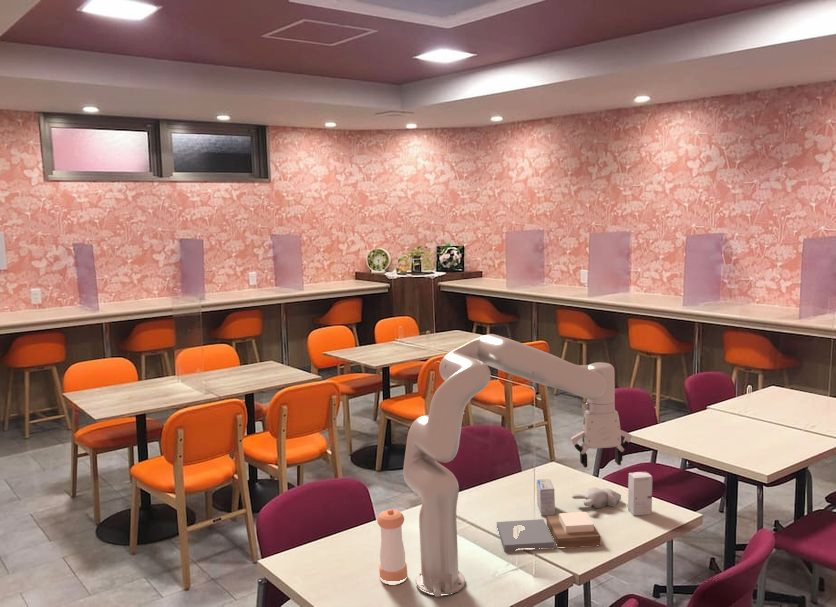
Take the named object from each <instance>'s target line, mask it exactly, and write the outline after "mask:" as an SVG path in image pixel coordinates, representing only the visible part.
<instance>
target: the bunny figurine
mask: <svg viewBox="0 0 836 607" xmlns="http://www.w3.org/2000/svg"><path fill="white" fill-rule="evenodd" d="M572 499H574V500H575V499H576V500H582V501H583V506H585V507H589V508H590V507H592V506H593V507H594V508H595V509H600V508H601V509H602V508H604V507H605V506H611V507H612V506H613V507H615V506H617V503H618V502H619V501H620V500H621V499H622V494H620V493H618V492H616V491H614V490H612V489H610V488H609V487H605V488H598V487H591V488H588V490H587V491H586V493H585V494H582V493H581V494H580V493H574V494H573V495H572ZM583 499H585V500H583Z"/></svg>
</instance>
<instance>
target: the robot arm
mask: <svg viewBox="0 0 836 607" xmlns="http://www.w3.org/2000/svg"><path fill="white" fill-rule="evenodd" d="M489 367H491V368H493V369H496V370H499V371H501V372H504V373H507V374H510V375H513V376H516V377H519V378H522V379H524V380H528V381H530V382H533V383H537V384H539V385H542V386H546V387H550V388H554V389H557V390H561V391H564V392H567V393H570V394H574V395H576V396H579V397H581V398H584V399H586V402H585V403H582V404H581V408H582V409H585V411H584V414H583V418H582V421H583V423H582V428H581V430H582V431H580V432H578V433H577V434H575V435H573V436H571V437H570V438H569V439H570V440H569V441H570V442H571V443H572V444H573V447H574V448H575V449H576V450H577V451H578V452H579V458H580V459H579V460H580V461H579V462H580V464H582V466H583V467H584V468H588V454H587V451H588V450H589V449H592V450H593V449H608V448H610V449H611V448H615V449H614V462H615V463H616V464H617V465H618V466H621V465H622V462H623V452H624V451H625V449H626V448H627V447H628V446H629V445H630V444H629V443H630V442H631V439H632V438H633V436H632V434H630V433H629V432H627V431H624V430H622V429H621V424H620V422H621V421H620V416H619V411H617V410H616V407H615V405H616V404H615V403H616V402H615V400H616V398H615V394H616V392H615V391H616V390H615V389H616V387H615V384H616V383H615V380H616V379H615V367H614V366H613V365H612V364H611V363H608V362H599V361H598V362H593V363H590V364H580V365H579V364H575V363H572V362H570V361H567V360H565V359H562V358H561V357H558V356H557V355H553V354H551V353H550V352H549V353H548V352H546V351H544V350H541V349H538V348H536V347H533V346H530V345H527V344H525V343H522V342H521V341H516V340H514V339H511V338H508V337H504V336H501V335H498V334H494V333H488V334H484V335H481V336H479V337H477V338H475V339H473V340H470V341H468V342H467V343H465V344H463V345H461V346H459V347H457V348H455V349H454V350H451V351H449V352H448V353H447V354H446V355H445V356H443V358H442V359H441V360H440V363H439V367H438V370H439V372H438V373H439V375H440V377H441V379H442V380H443V382H442V383H441V384H440V385H439V387H438V388H437V389H436V390H435V392H434V394H433V395H432V399H431V400H430V407H429V411H428V414H425V415H421V416H419V417H417V418H416V419H415V420H414V421H413V422H412V423H411V426H410V427H409V429H408V433H407V438H406V445H405V454H404V461H403V470H402V471H403V479H404V482H405V483H406V485H407V487H408V488H409V489H411V490H412V491H413V492H414V493H415V494H416V495H417V496H419V497H420V499H421V507H420V510H419V516H418V526H419V527H418V528H419V548H420V551H419V552H420V569H421V571H420V572H419V573H418V574H417V576H416V578H415V585H416V584H417V586H418V587H419V588H421V589H422V590H424V591H426V592H429V593H433V594H434V595H435V596H434V597H436V598H439V597H442V596H441V594H451V593H455V592H457V593H459V592H460V591H461V590H463V588H464V586H465V584H466V582H465V580H466V578H465V576H464V574H463V573H462V572H461V571H459V556H458V555H459V554H458V553H459V552H458V526H457V523H458V522H457V507H458V500H459V493H460V488H459V487H460V486H459V482H458V479H457V477H456V476H455V475H454V473H453V472H452V471H451V470H449V469H448V468H447V467H445V466H444V465H442V464H443V463H444V464H445V463H449V462H451V461H453V460H454V458H456V456H457V454H458V451H459V448H460V440H461V432H462V424H463V418H464V414H465V413H464V412H465V409H466V407H467V404H468V403H469V402H471V399H473V398H474V397H475V396H476V395H478V394H480V392H482V391H483V390H484V389H486V388H487V386H488V385H489V382H490V381H491V376H492V375H491V374H492V373H491V370H490V368H489ZM622 437H623V440H622ZM579 440H581V441H582V443H581V445H580V444H579V443H578V441H579ZM441 463H442V464H441ZM421 575H422V576H421ZM417 586H416V587H417ZM421 586H423V587H421ZM459 590H460V591H459ZM455 594H456V593H455Z"/></svg>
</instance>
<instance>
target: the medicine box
mask: <svg viewBox="0 0 836 607" xmlns="http://www.w3.org/2000/svg"><path fill="white" fill-rule="evenodd" d="M555 496H556V495H555V488H554V485H553V482H552V480H551V479H550V478H549V479H544V478H543V479H537V480H536V500H537V501H536V502H537V507H538V510H539V512H540V515H541V517H542V516H543V517H544V516H545V517H547V516H553V515H556V504H555V503H556V502H555V501H556V499H555Z"/></svg>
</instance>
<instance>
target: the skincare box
mask: <svg viewBox="0 0 836 607" xmlns="http://www.w3.org/2000/svg"><path fill="white" fill-rule="evenodd" d="M627 484H628V486H627V489H628V492H627V509H628V511H629V513H630V514H631V515H632V516H644V515H646V516H647V515H652V512H653V511H652V510H653V509H652V508H653V507H652V506H653V476H652V475H651V474H650V473H649V472H647V471H636V472H629V473H628V483H627Z"/></svg>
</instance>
